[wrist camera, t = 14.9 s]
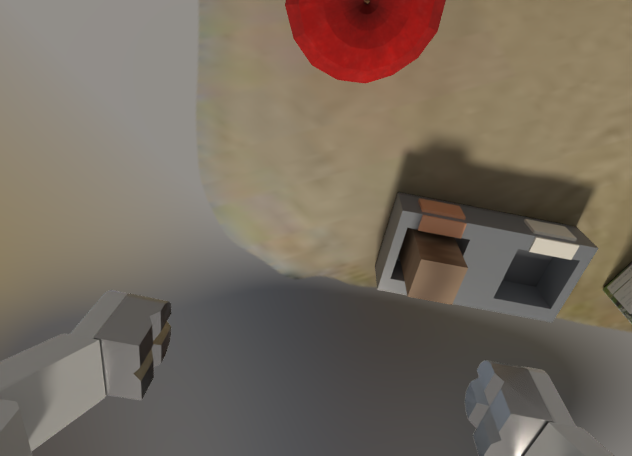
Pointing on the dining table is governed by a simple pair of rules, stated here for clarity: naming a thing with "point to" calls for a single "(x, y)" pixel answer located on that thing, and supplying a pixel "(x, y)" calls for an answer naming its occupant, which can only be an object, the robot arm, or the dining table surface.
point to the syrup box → (622, 291)
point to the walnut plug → (431, 266)
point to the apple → (363, 34)
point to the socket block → (492, 255)
